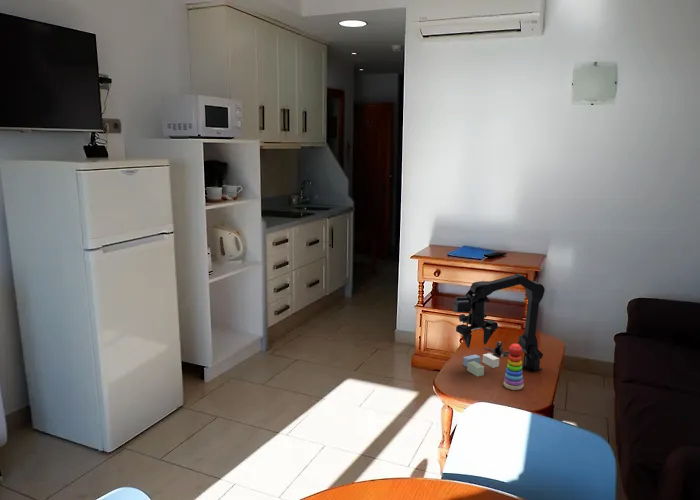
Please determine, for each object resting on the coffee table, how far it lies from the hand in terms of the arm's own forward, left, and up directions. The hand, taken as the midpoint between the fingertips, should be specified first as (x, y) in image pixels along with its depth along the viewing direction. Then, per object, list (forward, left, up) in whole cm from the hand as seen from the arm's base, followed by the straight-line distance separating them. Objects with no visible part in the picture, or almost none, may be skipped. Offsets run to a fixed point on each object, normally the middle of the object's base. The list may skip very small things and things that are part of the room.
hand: (476, 345), depth 236 cm
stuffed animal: (+12, -25, -13) cm, 30 cm away
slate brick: (+7, -4, -12) cm, 15 cm away
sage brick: (-1, 0, -12) cm, 12 cm away
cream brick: (+3, -12, -12) cm, 17 cm away
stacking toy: (-19, -5, -12) cm, 23 cm away
